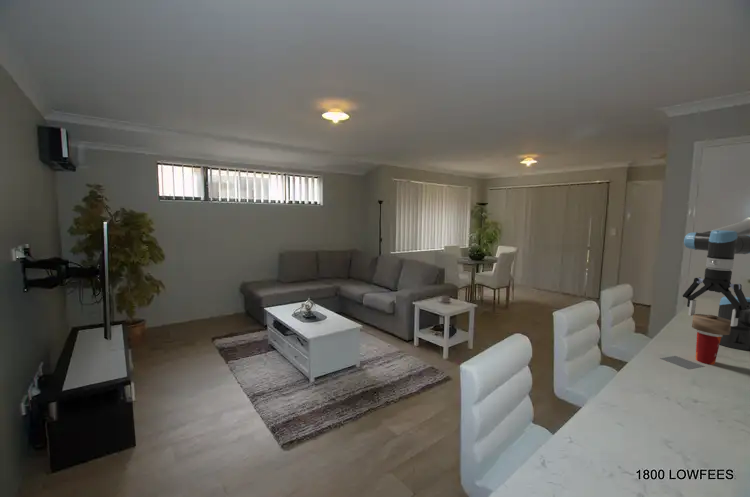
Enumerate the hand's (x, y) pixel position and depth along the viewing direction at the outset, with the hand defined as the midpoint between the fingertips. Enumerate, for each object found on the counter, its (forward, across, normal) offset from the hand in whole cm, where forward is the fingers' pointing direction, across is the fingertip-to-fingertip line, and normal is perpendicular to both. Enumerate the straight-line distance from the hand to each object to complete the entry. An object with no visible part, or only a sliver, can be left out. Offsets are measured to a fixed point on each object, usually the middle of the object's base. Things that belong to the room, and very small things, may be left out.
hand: (711, 320), depth 136 cm
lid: (+4, 0, 0) cm, 4 cm away
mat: (+18, -2, -12) cm, 21 cm away
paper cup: (+18, 0, -1) cm, 18 cm away
